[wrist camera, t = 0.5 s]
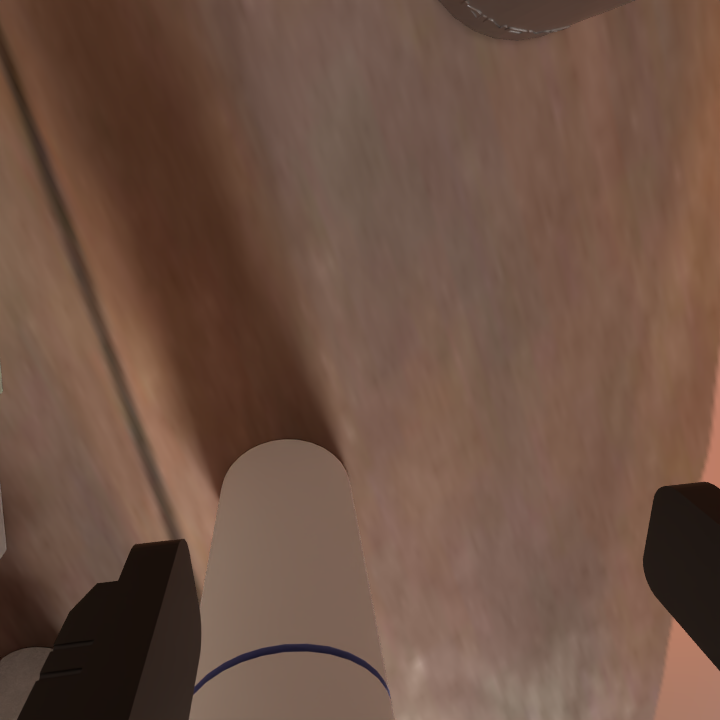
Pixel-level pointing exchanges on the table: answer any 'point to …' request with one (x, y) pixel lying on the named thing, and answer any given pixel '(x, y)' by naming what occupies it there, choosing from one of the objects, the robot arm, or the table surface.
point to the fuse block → (2, 530)
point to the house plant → (19, 679)
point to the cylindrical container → (288, 596)
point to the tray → (0, 382)
